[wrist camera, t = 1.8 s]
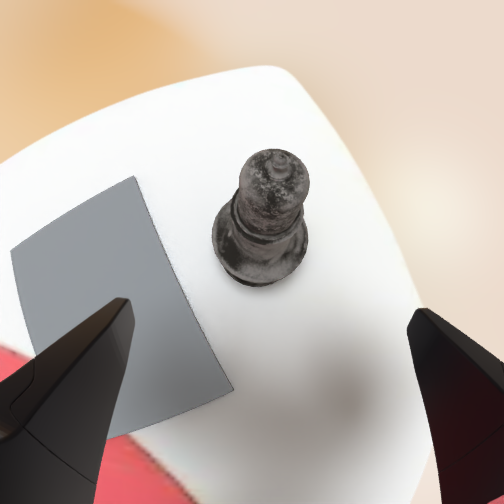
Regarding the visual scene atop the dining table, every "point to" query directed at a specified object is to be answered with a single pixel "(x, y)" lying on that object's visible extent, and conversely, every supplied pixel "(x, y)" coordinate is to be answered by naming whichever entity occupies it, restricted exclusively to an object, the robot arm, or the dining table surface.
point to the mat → (119, 285)
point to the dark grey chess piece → (264, 220)
